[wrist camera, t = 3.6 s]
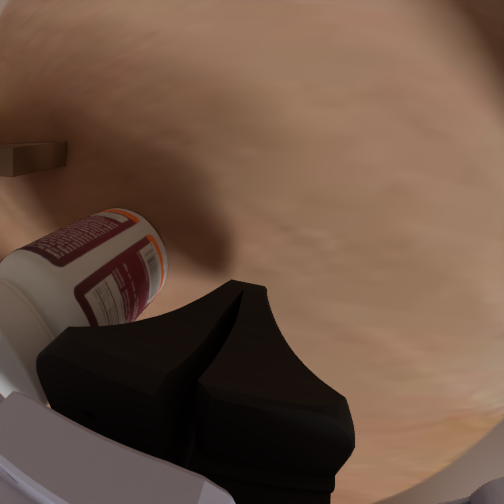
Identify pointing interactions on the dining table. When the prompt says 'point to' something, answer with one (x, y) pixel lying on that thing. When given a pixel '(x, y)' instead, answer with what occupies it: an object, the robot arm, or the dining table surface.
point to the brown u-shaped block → (31, 157)
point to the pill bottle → (74, 288)
